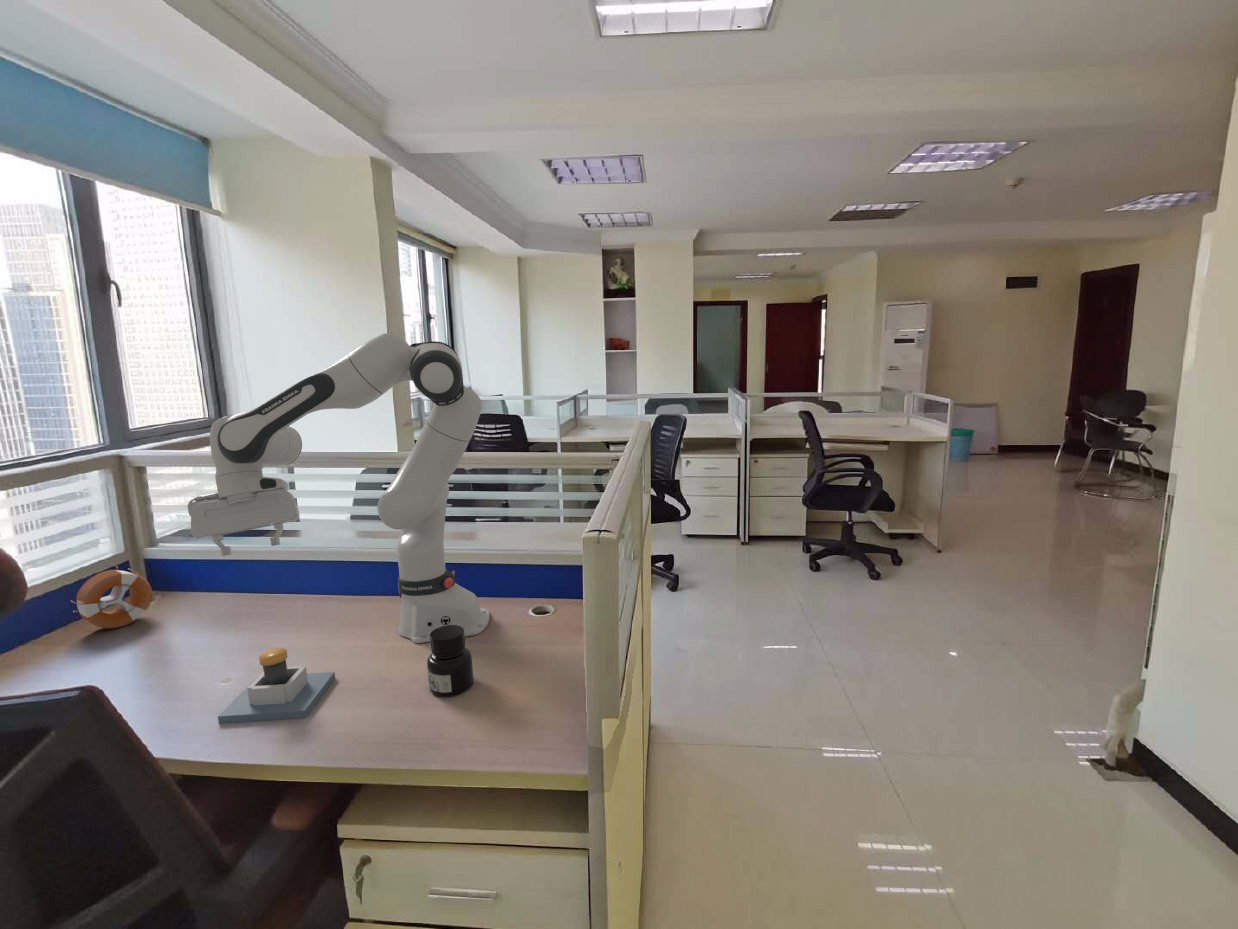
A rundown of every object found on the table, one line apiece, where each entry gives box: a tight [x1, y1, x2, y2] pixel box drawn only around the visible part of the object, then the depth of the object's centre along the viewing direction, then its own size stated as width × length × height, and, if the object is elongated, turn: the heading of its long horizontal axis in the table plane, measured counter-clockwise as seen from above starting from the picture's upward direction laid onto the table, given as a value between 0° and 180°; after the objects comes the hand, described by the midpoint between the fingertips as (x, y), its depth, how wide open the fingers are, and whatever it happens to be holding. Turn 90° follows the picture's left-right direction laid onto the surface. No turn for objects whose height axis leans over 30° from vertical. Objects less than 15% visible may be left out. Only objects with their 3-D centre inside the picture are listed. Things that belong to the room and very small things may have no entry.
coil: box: [70, 566, 153, 630], centre depth 154 cm, size 7×15×15 cm, turn 147°
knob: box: [258, 647, 289, 685], centre depth 117 cm, size 5×5×8 cm
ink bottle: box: [426, 625, 474, 698], centre depth 121 cm, size 10×9×12 cm
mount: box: [217, 665, 336, 725], centre depth 118 cm, size 16×14×5 cm
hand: (251, 550), depth 128 cm, fingers open, 8 cm apart
